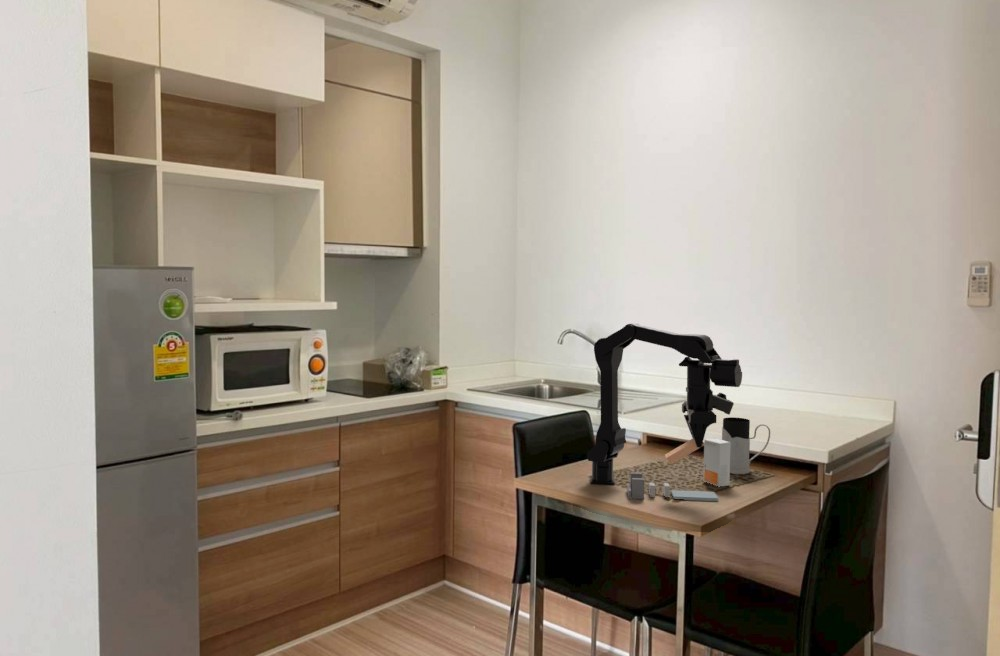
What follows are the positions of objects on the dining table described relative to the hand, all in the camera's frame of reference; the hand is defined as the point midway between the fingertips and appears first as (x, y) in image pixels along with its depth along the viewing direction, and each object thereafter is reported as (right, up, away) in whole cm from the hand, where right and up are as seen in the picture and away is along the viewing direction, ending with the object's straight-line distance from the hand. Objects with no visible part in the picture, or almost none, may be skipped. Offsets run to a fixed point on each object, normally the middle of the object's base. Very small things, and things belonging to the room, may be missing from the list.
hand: (698, 445), depth 198 cm
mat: (-1, -13, +1) cm, 13 cm away
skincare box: (+9, -13, +15) cm, 21 cm away
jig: (-12, -13, +2) cm, 18 cm away
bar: (-3, -2, 0) cm, 3 cm away
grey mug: (+21, -12, +31) cm, 39 cm away
